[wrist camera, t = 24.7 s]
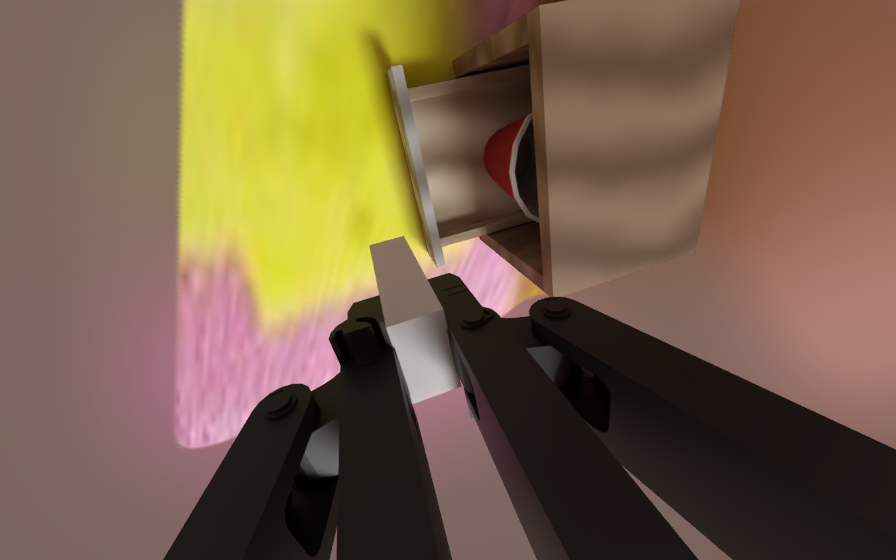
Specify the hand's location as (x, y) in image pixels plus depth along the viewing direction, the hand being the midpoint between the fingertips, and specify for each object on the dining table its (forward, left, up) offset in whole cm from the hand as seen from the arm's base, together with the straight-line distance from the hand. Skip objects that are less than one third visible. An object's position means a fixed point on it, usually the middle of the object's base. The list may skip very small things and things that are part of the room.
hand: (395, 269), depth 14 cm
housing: (0, +19, -24) cm, 31 cm away
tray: (0, +15, -24) cm, 28 cm away
